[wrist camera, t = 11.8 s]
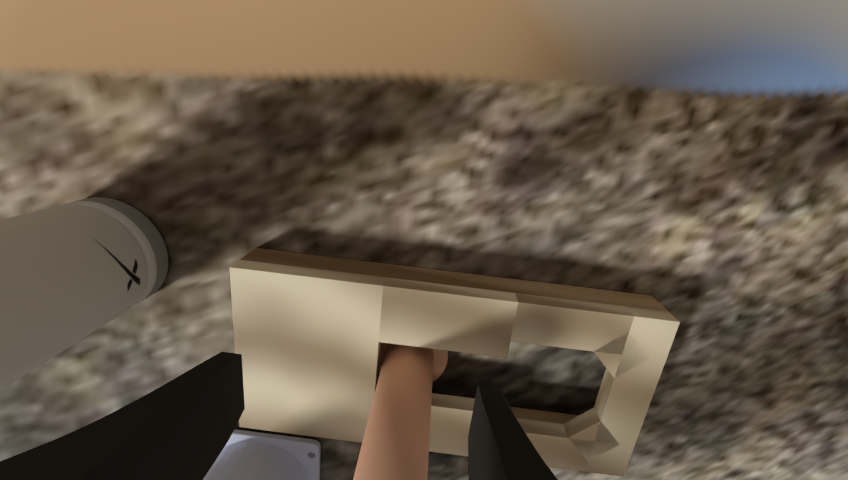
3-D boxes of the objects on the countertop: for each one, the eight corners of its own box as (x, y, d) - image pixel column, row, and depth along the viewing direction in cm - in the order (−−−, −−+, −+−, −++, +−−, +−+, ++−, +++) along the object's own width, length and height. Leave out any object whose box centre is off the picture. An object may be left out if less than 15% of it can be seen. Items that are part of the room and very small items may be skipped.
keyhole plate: (604, 436, 25) (623, 476, 22) (261, 393, 25) (239, 426, 22) (651, 295, 21) (680, 321, 19) (256, 247, 22) (229, 267, 19)
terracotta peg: (443, 380, 24) (441, 558, 14) (372, 372, 24) (324, 543, 15) (452, 317, 22) (455, 469, 13) (376, 309, 23) (326, 453, 13)
